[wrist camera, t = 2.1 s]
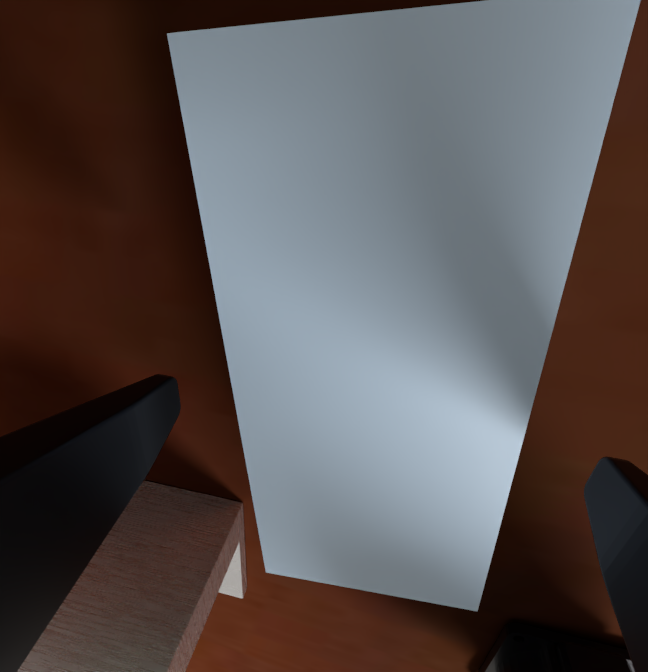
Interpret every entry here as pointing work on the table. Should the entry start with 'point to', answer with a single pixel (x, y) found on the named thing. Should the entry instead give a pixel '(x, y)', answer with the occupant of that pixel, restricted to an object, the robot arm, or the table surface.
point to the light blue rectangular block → (393, 264)
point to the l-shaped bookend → (148, 586)
